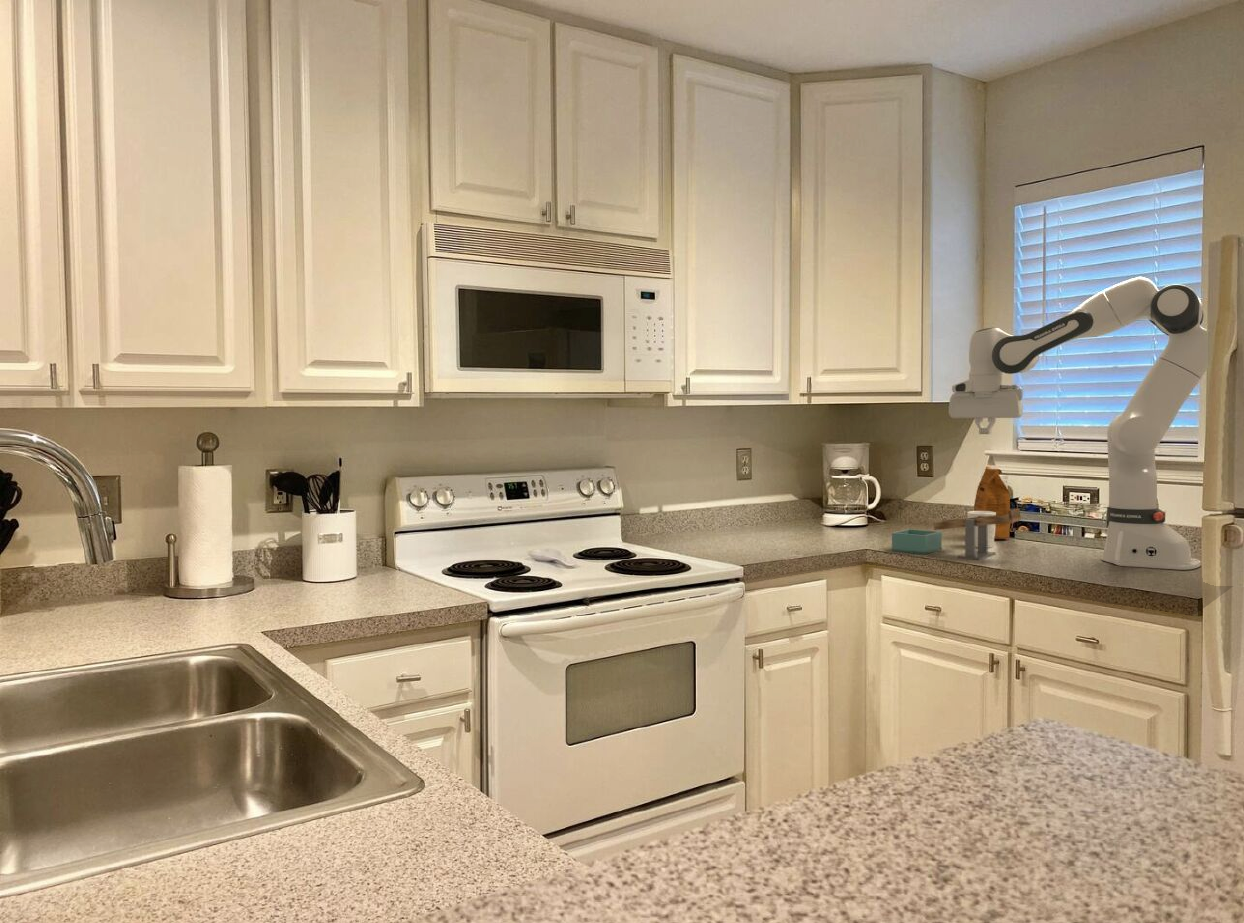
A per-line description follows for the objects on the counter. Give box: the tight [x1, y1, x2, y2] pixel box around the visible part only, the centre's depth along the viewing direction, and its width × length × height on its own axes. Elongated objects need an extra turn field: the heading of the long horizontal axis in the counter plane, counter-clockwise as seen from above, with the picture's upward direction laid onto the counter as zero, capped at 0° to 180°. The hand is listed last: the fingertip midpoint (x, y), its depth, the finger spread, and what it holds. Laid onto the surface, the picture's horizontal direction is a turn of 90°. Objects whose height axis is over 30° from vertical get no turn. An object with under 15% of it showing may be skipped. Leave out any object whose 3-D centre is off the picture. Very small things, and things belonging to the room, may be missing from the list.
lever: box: [933, 508, 1022, 531], centre depth 263 cm, size 22×13×3 cm, turn 47°
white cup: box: [966, 510, 996, 549], centre depth 278 cm, size 8×8×10 cm
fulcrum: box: [957, 516, 996, 561], centre depth 261 cm, size 6×11×11 cm, turn 137°
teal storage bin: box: [891, 528, 943, 555], centre depth 273 cm, size 10×10×5 cm
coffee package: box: [973, 466, 1011, 541], centre depth 293 cm, size 10×12×22 cm
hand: (985, 434), depth 271 cm, fingers closed
